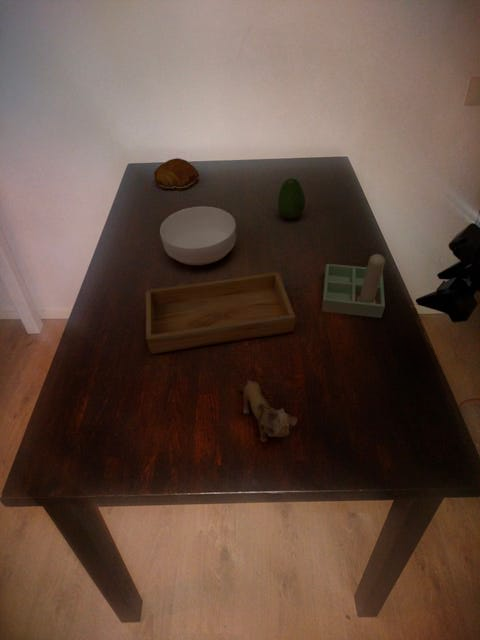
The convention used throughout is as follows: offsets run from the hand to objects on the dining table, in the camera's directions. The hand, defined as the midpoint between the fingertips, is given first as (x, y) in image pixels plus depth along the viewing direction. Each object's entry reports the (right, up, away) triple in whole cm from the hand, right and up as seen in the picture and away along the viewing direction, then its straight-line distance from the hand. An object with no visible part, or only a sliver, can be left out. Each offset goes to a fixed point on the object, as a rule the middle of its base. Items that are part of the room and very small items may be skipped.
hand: (427, 288), depth 71 cm
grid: (-9, 0, +19) cm, 21 cm away
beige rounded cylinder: (-6, -2, +16) cm, 18 cm away
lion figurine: (-31, -24, -2) cm, 39 cm away
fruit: (-20, +25, +44) cm, 54 cm away
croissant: (-57, +42, +63) cm, 95 cm away
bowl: (-45, +13, +34) cm, 58 cm away
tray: (-40, -6, +16) cm, 43 cm away
